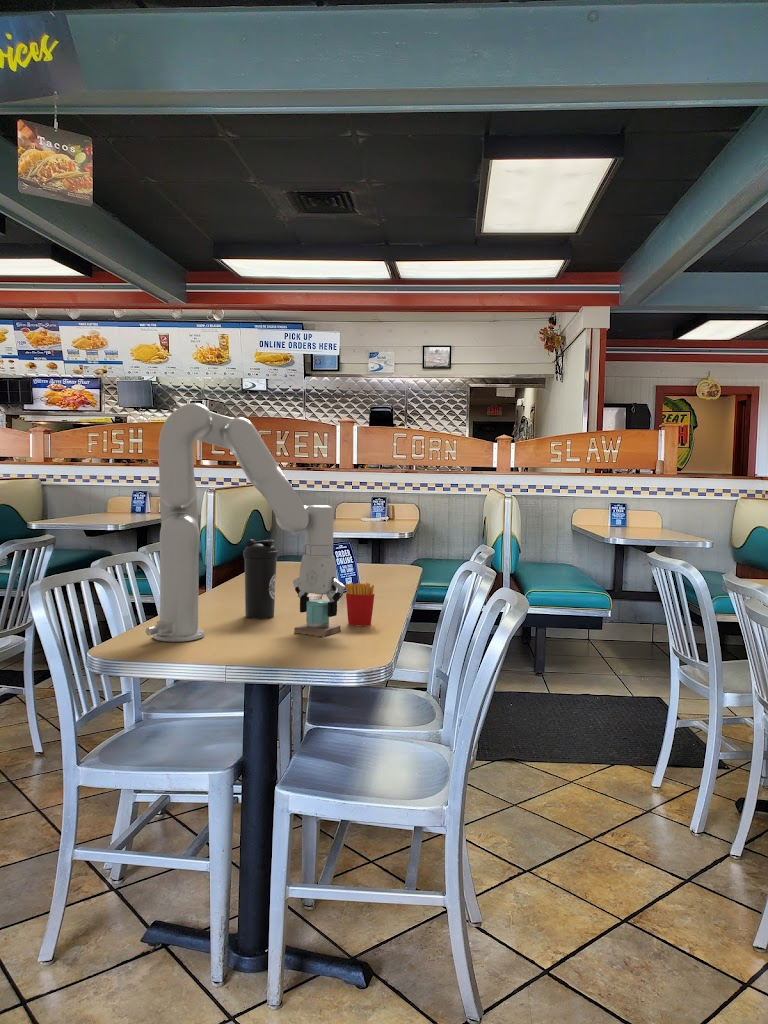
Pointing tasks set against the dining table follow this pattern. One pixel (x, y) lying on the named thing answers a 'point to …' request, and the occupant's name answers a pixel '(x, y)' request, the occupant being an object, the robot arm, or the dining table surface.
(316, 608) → the cap
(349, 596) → the french fries
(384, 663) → the dining table surface
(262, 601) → the water bottle
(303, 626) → the post stand
